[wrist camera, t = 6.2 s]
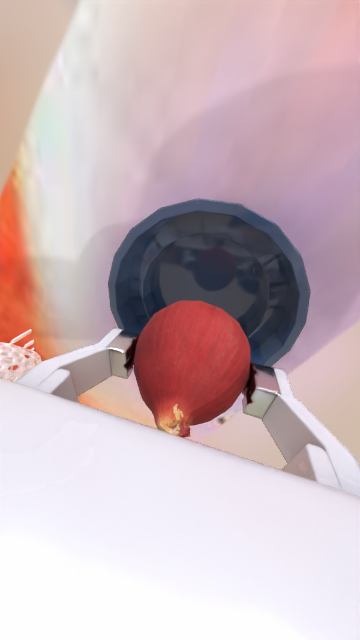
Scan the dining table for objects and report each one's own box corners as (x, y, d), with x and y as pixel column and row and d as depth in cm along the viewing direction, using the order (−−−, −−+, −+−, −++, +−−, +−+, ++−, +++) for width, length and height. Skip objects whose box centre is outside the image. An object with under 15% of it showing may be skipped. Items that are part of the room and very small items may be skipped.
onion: (208, 365, 14) (183, 493, 8) (150, 322, 14) (70, 421, 7) (266, 319, 11) (308, 469, 5) (194, 261, 11) (125, 338, 4)
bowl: (321, 218, 13) (366, 219, 9) (254, 361, 20) (261, 400, 16) (135, 194, 15) (97, 185, 10) (137, 333, 22) (115, 361, 18)
